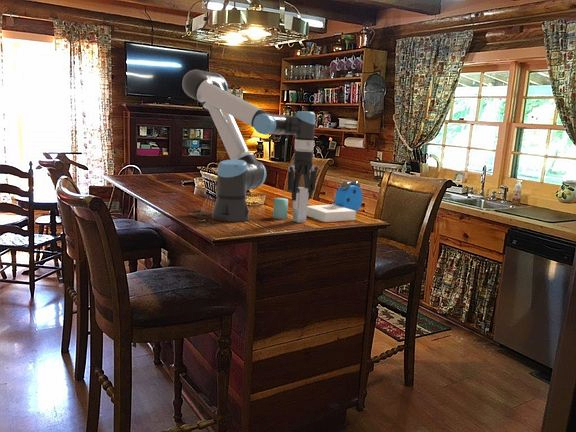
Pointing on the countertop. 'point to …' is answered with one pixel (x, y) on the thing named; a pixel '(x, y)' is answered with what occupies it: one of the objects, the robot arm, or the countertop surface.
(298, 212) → the square bit
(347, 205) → the alarm clock
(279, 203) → the pale teal capsule
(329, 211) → the bore block
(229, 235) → the countertop surface
